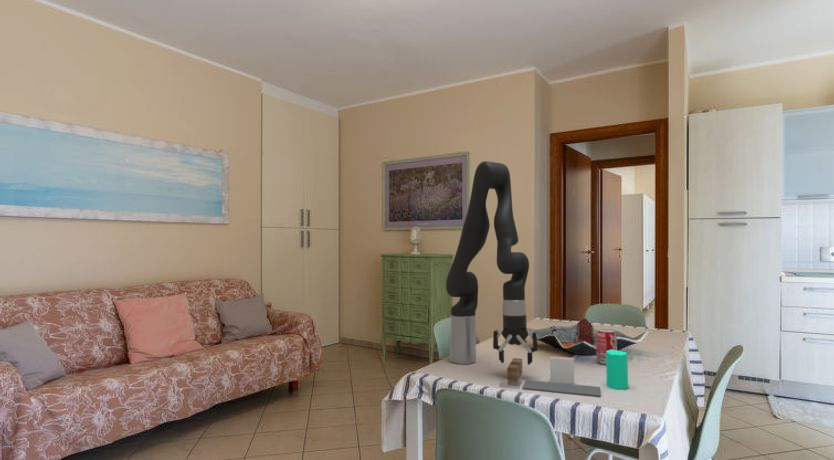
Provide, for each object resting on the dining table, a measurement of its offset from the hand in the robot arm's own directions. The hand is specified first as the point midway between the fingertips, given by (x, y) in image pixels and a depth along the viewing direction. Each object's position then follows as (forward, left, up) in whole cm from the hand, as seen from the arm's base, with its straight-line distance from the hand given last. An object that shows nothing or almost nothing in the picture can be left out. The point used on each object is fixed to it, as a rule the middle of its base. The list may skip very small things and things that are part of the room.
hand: (515, 363), depth 153 cm
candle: (+30, +1, -5) cm, 31 cm away
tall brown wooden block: (-1, -2, -5) cm, 5 cm away
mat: (+14, -7, -5) cm, 17 cm away
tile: (+14, -1, -5) cm, 15 cm away
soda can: (+28, +29, -5) cm, 41 cm away
